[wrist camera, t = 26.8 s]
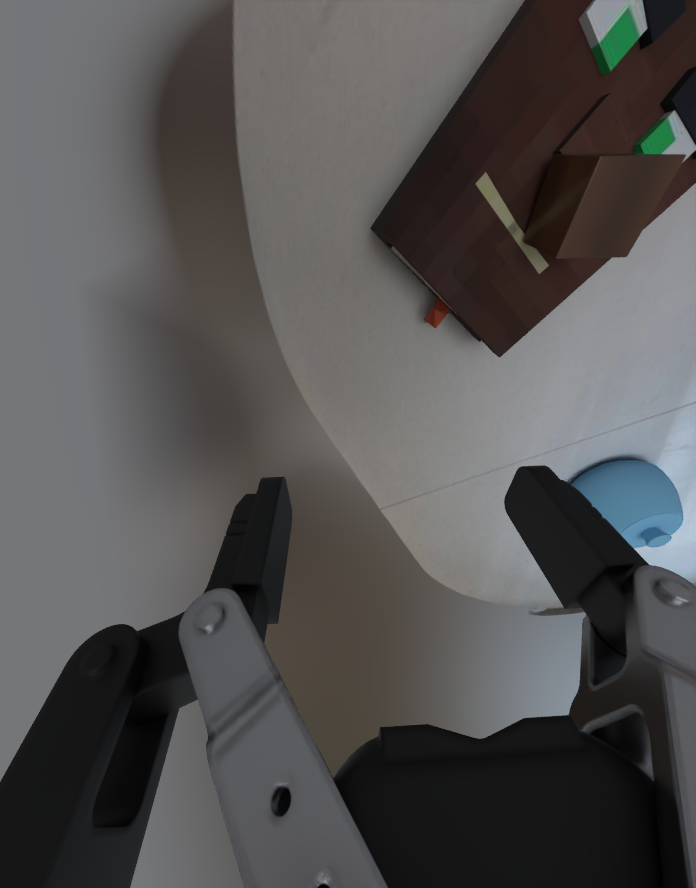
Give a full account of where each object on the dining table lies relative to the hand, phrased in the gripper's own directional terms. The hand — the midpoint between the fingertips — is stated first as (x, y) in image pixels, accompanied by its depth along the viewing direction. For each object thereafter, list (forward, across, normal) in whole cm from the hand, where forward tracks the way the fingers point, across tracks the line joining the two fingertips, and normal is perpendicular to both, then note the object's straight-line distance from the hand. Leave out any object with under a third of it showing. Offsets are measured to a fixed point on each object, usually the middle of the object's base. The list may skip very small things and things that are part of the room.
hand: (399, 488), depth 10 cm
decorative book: (+28, -16, -11) cm, 34 cm away
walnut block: (+20, -16, -8) cm, 27 cm away
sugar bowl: (+28, -44, +31) cm, 61 cm away
